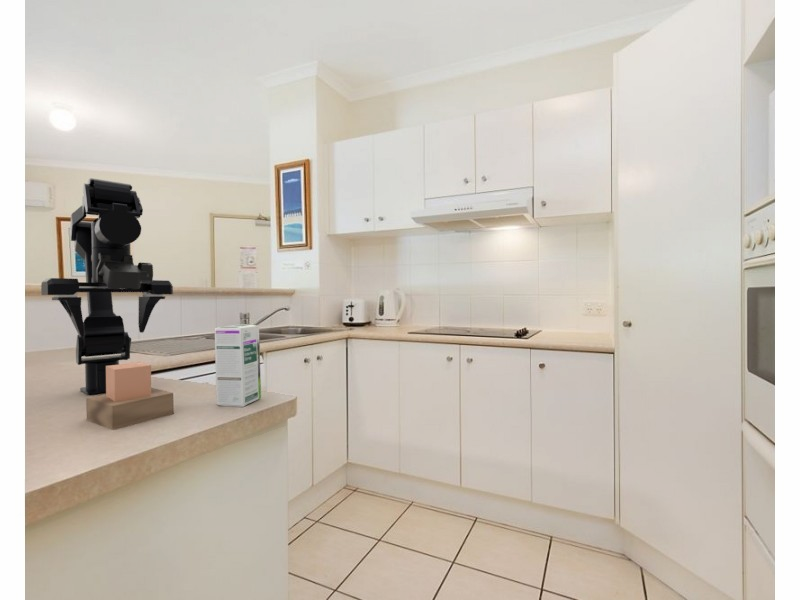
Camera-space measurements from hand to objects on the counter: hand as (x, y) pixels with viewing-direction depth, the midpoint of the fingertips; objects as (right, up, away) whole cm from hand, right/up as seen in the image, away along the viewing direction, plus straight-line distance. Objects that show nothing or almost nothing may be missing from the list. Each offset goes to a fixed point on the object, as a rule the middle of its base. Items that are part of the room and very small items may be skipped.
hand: (113, 334), depth 72 cm
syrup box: (+23, -13, +1) cm, 26 cm away
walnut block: (+8, -14, -7) cm, 17 cm away
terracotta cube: (+8, -10, -7) cm, 14 cm away
